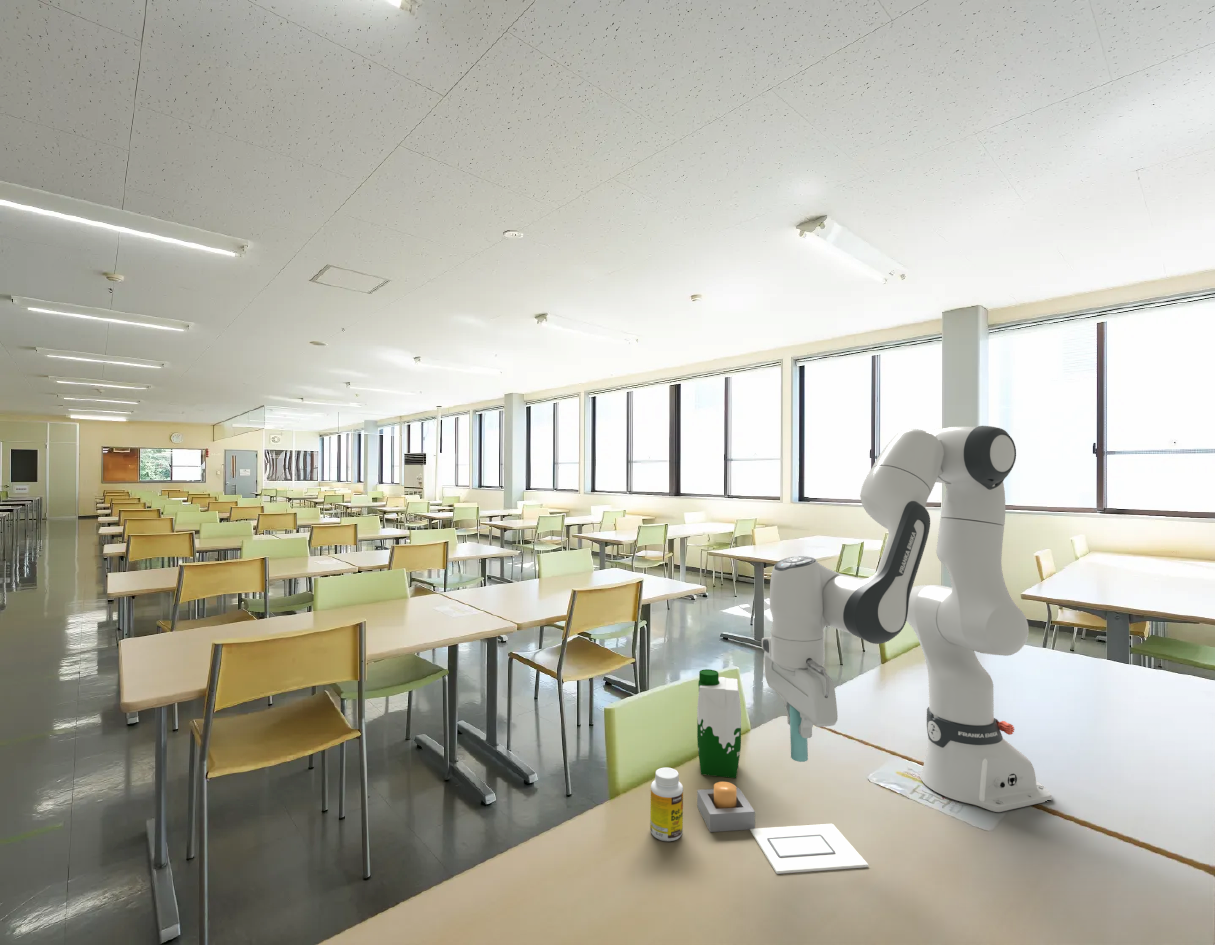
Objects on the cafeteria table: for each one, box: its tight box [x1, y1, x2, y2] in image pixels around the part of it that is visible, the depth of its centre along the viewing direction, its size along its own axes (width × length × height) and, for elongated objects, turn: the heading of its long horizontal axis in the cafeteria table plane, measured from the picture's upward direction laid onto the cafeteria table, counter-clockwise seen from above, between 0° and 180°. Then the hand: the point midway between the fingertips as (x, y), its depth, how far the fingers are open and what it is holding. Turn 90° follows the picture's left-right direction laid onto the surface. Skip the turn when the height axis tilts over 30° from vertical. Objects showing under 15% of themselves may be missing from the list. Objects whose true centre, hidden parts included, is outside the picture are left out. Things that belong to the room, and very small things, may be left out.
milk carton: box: [696, 669, 742, 779], centre depth 121 cm, size 9×9×20 cm
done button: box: [713, 781, 738, 809], centre depth 103 cm, size 4×4×3 cm
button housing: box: [696, 787, 756, 833], centre depth 103 cm, size 8×8×3 cm
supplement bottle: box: [649, 766, 684, 842], centre depth 98 cm, size 6×6×10 cm
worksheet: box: [749, 823, 869, 875], centre depth 94 cm, size 15×11×1 cm
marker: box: [789, 705, 809, 763], centre depth 100 cm, size 3×3×10 cm
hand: (799, 731), depth 100 cm, fingers closed on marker, 3 cm apart
